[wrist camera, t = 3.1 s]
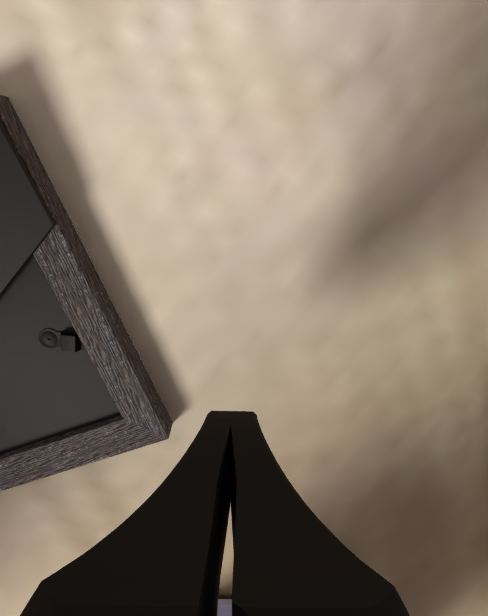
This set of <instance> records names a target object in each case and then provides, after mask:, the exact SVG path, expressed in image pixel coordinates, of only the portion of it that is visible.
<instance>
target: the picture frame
mask: <svg viewBox="0 0 488 616" xmlns="http://www.w3.org/2000/svg"><path fill="white" fill-rule="evenodd" d="M172 424H173V423H172V421H171V419H170V417H169V415H168V413H167V411H166V409H165V407H164V405H163V403H162V401H161V399H160V397H159V395H158V393H157V391H156V389H155V387H154V385H153V383H152V381H151V379H150V377H149V375H148V373H147V371H146V369H145V367H144V365H143V363H142V361H141V359H140V357H139V356H138V354H137V352H136V350H135V348H134V346H133V344H132V342H131V340H130V338H129V336H128V334H127V332H126V330H125V328H124V326H123V324H122V322H121V320H120V318H119V316H118V314H117V312H116V310H115V308H114V306H113V304H112V302H111V300H110V298H109V296H108V294H107V292H106V290H105V288H104V286H103V284H102V282H101V280H100V278H99V276H98V274H97V272H96V270H95V268H94V266H93V264H92V262H91V260H90V258H89V256H88V254H87V252H86V250H85V248H84V247H83V245H82V243H81V241H80V239H79V237H78V235H77V233H76V231H75V229H74V227H73V225H72V223H71V221H70V219H69V217H68V215H67V213H66V211H65V209H64V207H63V205H62V203H61V201H60V199H59V197H58V195H57V193H56V191H55V189H54V187H53V185H52V183H51V181H50V179H49V177H48V175H47V173H46V171H45V169H44V167H43V165H42V163H41V161H40V159H39V157H38V155H37V153H36V151H35V149H34V147H33V145H32V143H31V141H30V139H29V138H28V136H27V134H26V132H25V130H24V128H23V126H22V124H21V122H20V120H19V118H18V116H17V114H16V112H15V110H14V108H13V106H12V104H11V102H10V100H9V98H8V97H5V96H1V95H0V491H2V490H6V489H9V488H12V487H15V486H18V485H22V484H25V483H28V482H31V481H34V480H38V479H41V478H44V477H47V476H50V475H54V474H57V473H60V472H63V471H66V470H70V469H73V468H76V467H79V466H83V465H86V464H89V463H92V462H95V461H99V460H102V459H105V458H108V457H111V456H115V455H118V454H121V453H124V452H127V451H131V450H134V449H137V448H140V447H143V446H147V445H150V444H153V443H156V442H159V441H163V440H166V439H168V438H169V435H170V431H171V427H172Z"/></svg>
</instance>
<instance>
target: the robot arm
mask: <svg viewBox="0 0 488 616" xmlns="http://www.w3.org/2000/svg"><path fill="white" fill-rule="evenodd" d="M230 503H231V515H232V531H233V548H234V565H233V587H232V599H218V593H219V584H220V575H221V568H222V560H223V553H224V546H225V539H226V532H227V525H228V517H229V510H230ZM20 616H409V613H408V611H407V609H406V607H405V605H404V604H403V602H402V600H401V598H400V596H399V594H398V592H397V591H396V589H395V587H394V586H393V585H392V584H391V583H389V582H388V581H387V580H385V579H384V578H383V577H382V576H380V575H379V574H378V573H376V572H375V571H374V570H373V569H371V568H370V567H369V566H367V565H366V564H365V563H364V562H362V561H361V560H360V559H359V558H357V557H356V556H355V555H354V554H353V553H352V552H351V551H350V550H349V549H348V548H346V547H345V546H344V545H343V544H342V543H341V542H340V541H339V540H338V539H337V538H336V537H335V536H334V535H333V534H332V532H331V531H330V530H329V529H328V528H327V527H326V526H325V525H324V524H323V523H322V522H321V521H320V520H319V519H318V518H317V517H316V515H315V514H314V513H313V512H312V511H311V510H310V508H309V507H308V506H307V505H306V503H305V502H304V501H303V500H302V498H301V497H300V496H299V494H298V493H297V492H296V490H295V489H294V488H293V486H292V485H291V483H290V482H289V480H288V479H287V477H286V476H285V474H284V473H283V471H282V469H281V468H280V466H279V464H278V463H277V461H276V459H275V457H274V455H273V454H272V452H271V450H270V448H269V446H268V444H267V442H266V440H265V438H264V435H263V433H262V431H261V428H260V425H259V423H258V419H257V415H256V414H255V413H254V412H246V411H211V412H210V413H208V414H207V417H206V419H205V421H204V423H203V425H202V427H201V429H200V431H199V432H198V434H197V436H196V437H195V439H194V441H193V442H192V444H191V445H190V447H189V448H188V450H187V451H186V453H185V454H184V456H183V457H182V458H181V460H180V461H179V462H178V464H177V465H176V466H175V468H174V469H173V470H172V472H171V473H170V474H169V475H168V477H167V478H166V479H165V480H164V481H163V483H162V484H161V485H160V486H159V487H158V488H157V489H156V491H155V492H154V493H153V494H152V495H151V496H150V497H149V498H148V499H147V500H146V501H145V502H144V503H143V504H142V505H141V506H140V507H139V508H138V509H137V510H136V511H135V512H134V513H133V514H132V515H131V516H130V517H129V518H128V519H126V520H125V521H124V522H123V523H122V524H121V525H120V526H119V527H117V528H116V529H115V530H114V531H112V532H111V533H110V534H109V535H107V536H106V537H105V538H104V539H102V540H101V541H100V542H99V543H97V544H96V545H95V546H94V547H92V548H91V549H90V550H88V551H87V552H86V553H84V554H83V555H81V556H80V557H78V558H77V559H75V560H74V561H72V562H71V563H69V564H68V565H66V566H65V567H63V568H61V569H60V570H58V571H57V572H55V573H54V574H52V575H51V576H49V577H47V578H46V579H44V580H43V581H41V583H40V584H39V586H38V588H37V589H36V591H35V592H34V594H33V596H32V597H31V599H30V600H29V602H28V603H27V605H26V607H25V608H24V610H23V612H22V613H21V615H20Z"/></svg>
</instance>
